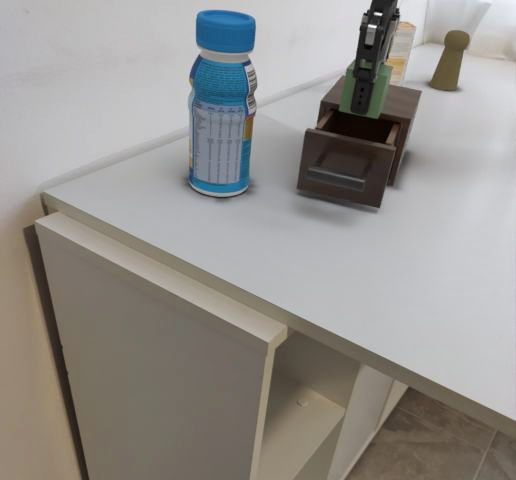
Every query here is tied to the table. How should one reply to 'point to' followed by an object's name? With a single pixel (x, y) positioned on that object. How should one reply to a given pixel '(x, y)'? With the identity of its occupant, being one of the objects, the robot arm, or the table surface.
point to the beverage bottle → (222, 103)
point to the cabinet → (384, 115)
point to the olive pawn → (450, 61)
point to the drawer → (348, 157)
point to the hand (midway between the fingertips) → (362, 106)
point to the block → (377, 94)
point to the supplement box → (401, 52)
